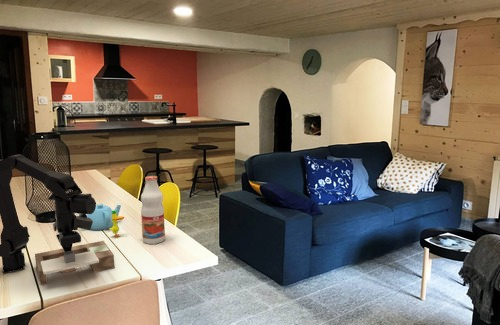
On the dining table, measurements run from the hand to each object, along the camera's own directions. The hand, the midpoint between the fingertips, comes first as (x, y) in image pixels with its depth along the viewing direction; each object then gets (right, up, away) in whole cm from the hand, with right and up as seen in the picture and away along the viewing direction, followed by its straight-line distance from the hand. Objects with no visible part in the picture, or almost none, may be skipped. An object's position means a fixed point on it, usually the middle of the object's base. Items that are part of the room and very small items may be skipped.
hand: (68, 255), depth 136 cm
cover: (+1, -2, -2) cm, 3 cm away
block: (-3, -6, +5) cm, 9 cm away
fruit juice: (+22, -2, +33) cm, 39 cm away
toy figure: (+5, -1, +37) cm, 37 cm away
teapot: (-8, +2, +50) cm, 51 cm away
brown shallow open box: (-1, -6, +7) cm, 9 cm away
